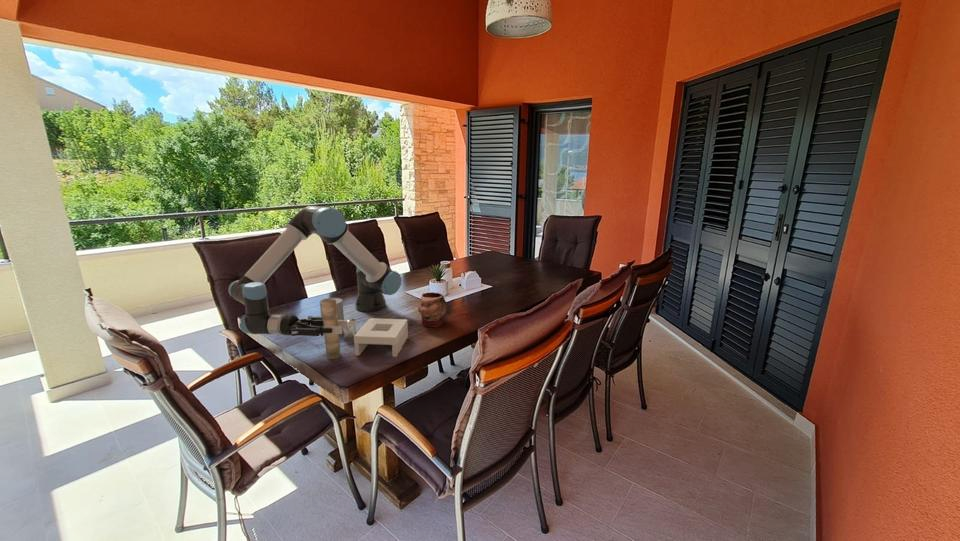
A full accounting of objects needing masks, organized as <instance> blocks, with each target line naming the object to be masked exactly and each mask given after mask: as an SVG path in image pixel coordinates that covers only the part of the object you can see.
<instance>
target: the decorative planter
mask: <svg viewBox="0 0 960 541" xmlns="http://www.w3.org/2000/svg"><path fill="white" fill-rule="evenodd" d="M447 306H448V305H447V301H446V299H445V297H444V294H442V293H441V292H424V293H422V294H421V296H420V302H419V303H418V306H417V310H418V312H419V313H418V314H420V315H421V324H422V326H425V327H428V328H437V327H438V328H439V327H440V326H442V325H443V323H444V321H445V314H446V311H447Z"/></svg>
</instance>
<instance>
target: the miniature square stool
mask: <svg viewBox="0 0 960 541" xmlns="http://www.w3.org/2000/svg"><path fill="white" fill-rule="evenodd" d="M408 331H409V328H408V319H406V318H405V319H403V318H402V319H398V318H371V317H370V318H369V319H368V320H367V321H366V322H365V323H364V324H363V325H362V326H361V328H360V329H359V330H358V331H356V334H355V335H354V340H353V341H354V344H353V345H354V356H360V355H361V354H362V352H363V351H364V350H365V349H366V348H367V347H368V345H383V346H384V345H388V346H391V348H392V349H391V352H392V358H397V357H398V355H399V354H398V353H400V352H401V350H402V348H403V347H402V346H404V345H405V343H406V341H407V340H406V339H408V337H409V332H408Z"/></svg>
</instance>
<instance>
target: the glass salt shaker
mask: <svg viewBox="0 0 960 541" xmlns="http://www.w3.org/2000/svg"><path fill="white" fill-rule="evenodd" d="M344 320H348V328H342V334H343V340H344V341H346V342H347V341H348V342H349V341H354V335H355V334H356V333H357V331H356V327H357V326H356V318H352V317H349V318H348V317H347V318H344Z"/></svg>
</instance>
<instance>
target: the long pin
mask: <svg viewBox="0 0 960 541" xmlns="http://www.w3.org/2000/svg"><path fill="white" fill-rule="evenodd" d="M325 299H326V300H323V299H322V300H323V301H321V300H320V301H321V304H322V314H323V324H324V326H338V319H337V308H336V300H335V299H327V298H325ZM324 342H325V343H324V344H325V352H326V358H327V359H329V360H334V359H338V358H340V357H341V356H342V354H341V342H340V334H329V333H324Z"/></svg>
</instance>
